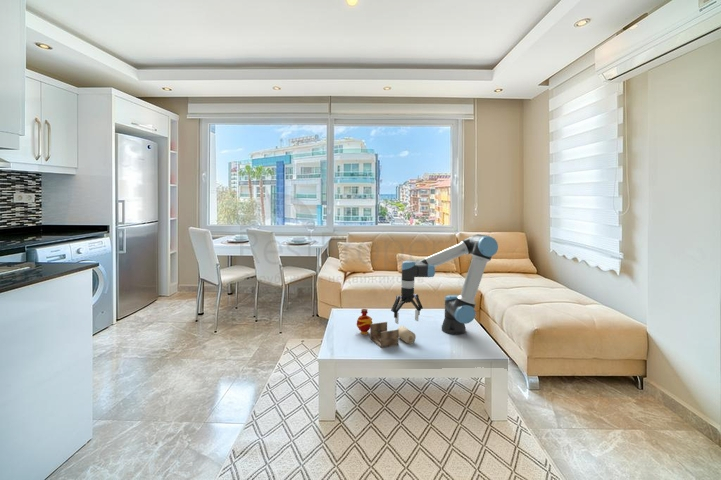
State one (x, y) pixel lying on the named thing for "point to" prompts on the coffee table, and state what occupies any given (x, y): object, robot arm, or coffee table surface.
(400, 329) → the roll
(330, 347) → the coffee table surface
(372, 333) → the holder
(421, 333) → the coffee table surface
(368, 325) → the potion bottle
